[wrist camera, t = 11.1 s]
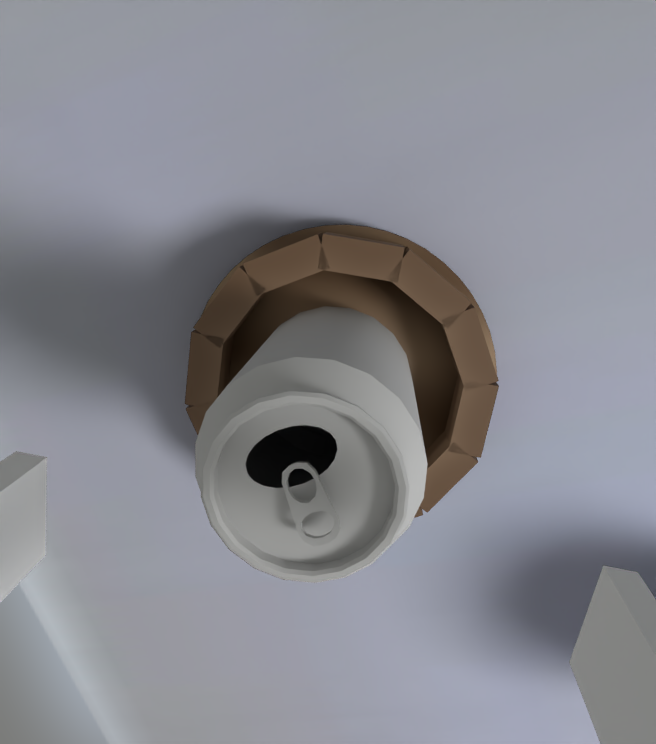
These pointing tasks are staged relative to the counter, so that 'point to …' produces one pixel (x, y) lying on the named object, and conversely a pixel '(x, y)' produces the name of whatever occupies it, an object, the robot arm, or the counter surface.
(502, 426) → the counter surface
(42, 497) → the robot arm
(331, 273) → the tray
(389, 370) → the can
